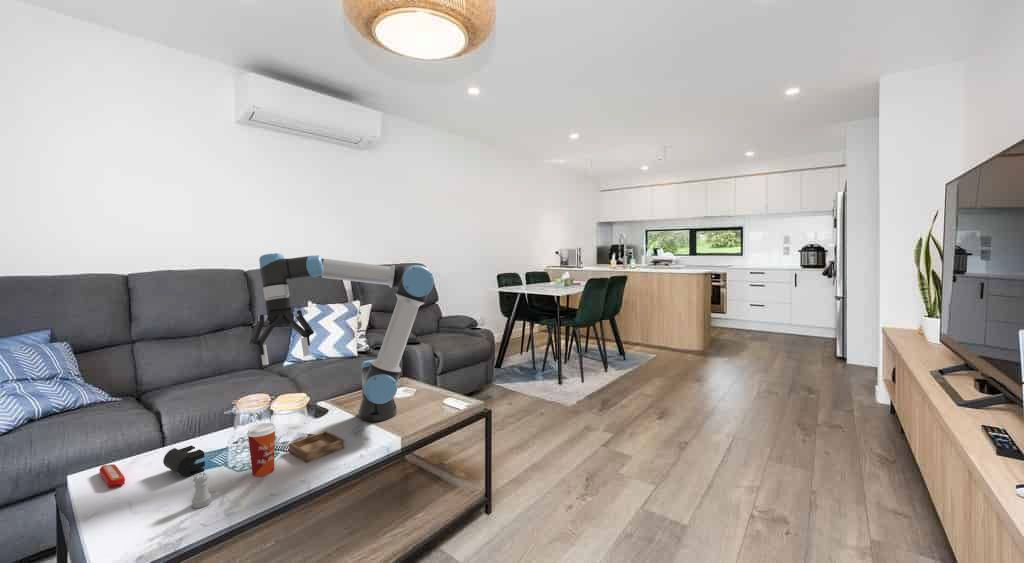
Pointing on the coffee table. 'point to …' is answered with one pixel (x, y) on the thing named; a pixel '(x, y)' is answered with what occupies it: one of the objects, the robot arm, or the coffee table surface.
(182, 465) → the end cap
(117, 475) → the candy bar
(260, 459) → the paper cup
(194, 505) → the rook chess piece
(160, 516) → the coffee table surface
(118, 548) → the coffee table surface
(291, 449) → the tray
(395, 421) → the coffee table surface
